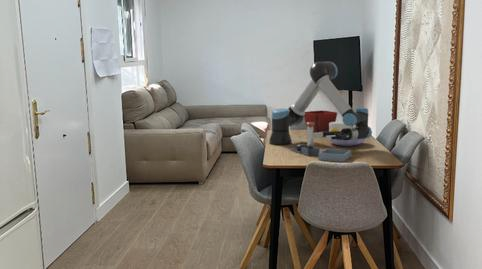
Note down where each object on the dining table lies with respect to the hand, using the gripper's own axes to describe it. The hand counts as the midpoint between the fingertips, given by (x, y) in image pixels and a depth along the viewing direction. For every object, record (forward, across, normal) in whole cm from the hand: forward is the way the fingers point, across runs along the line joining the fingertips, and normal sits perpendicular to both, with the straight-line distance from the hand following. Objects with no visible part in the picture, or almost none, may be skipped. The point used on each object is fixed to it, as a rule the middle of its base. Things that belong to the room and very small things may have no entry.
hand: (319, 136), depth 289 cm
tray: (0, -16, -10) cm, 19 cm away
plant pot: (-43, +66, -11) cm, 80 cm away
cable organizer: (-44, +41, -11) cm, 61 cm away
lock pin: (+6, +1, -10) cm, 12 cm away
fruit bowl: (-32, +18, -11) cm, 39 cm away
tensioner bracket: (+6, +7, -10) cm, 14 cm away
